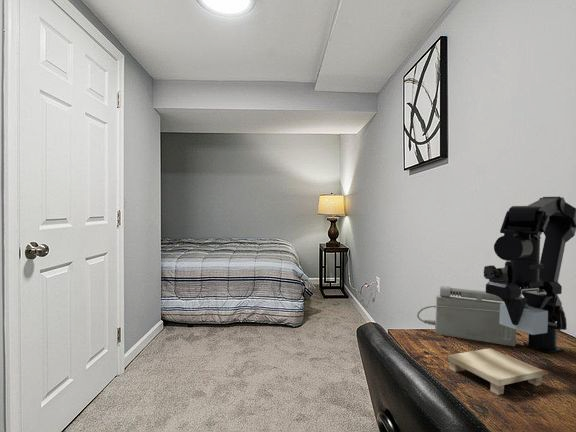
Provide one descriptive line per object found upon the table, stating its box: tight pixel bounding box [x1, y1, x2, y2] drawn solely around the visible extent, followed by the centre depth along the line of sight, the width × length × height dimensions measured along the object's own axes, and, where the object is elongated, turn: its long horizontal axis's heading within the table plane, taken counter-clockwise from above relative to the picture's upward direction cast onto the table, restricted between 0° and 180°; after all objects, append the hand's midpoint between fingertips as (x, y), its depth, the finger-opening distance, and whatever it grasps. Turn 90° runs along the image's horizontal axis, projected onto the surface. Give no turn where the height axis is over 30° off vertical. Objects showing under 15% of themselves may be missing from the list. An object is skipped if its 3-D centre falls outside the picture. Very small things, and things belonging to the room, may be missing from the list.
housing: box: [499, 302, 548, 335], centre depth 81 cm, size 8×5×6 cm, turn 21°
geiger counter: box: [416, 285, 517, 347], centre depth 96 cm, size 14×6×25 cm
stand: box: [447, 347, 544, 396], centre depth 73 cm, size 13×12×3 cm
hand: (522, 323), depth 81 cm, fingers closed on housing, 5 cm apart
